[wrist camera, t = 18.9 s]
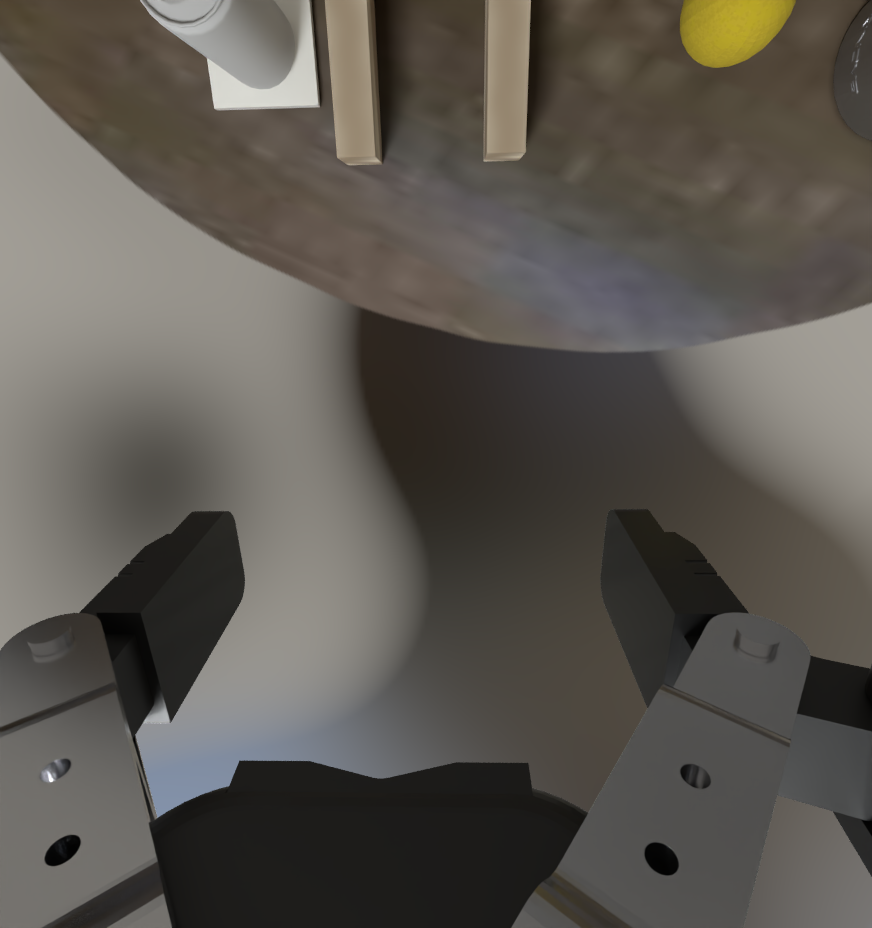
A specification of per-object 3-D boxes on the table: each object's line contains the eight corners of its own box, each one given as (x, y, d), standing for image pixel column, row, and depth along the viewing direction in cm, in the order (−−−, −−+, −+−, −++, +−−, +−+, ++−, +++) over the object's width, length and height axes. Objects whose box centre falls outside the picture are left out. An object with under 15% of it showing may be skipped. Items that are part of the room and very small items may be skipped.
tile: (309, -24, 35) (306, -28, 34) (320, 107, 37) (318, 105, 37) (199, -20, 35) (195, -24, 34) (217, 110, 38) (214, 108, 37)
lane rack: (525, -64, 34) (534, -100, 30) (518, 160, 38) (525, 152, 35) (332, -56, 34) (317, -91, 30) (348, 165, 39) (337, 157, 35)
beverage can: (208, 43, 36) (98, -42, 25) (258, -19, 34) (166, -139, 23) (263, 109, 37) (183, 56, 26) (313, 51, 36) (252, -31, 25)
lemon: (734, -46, 34) (813, -125, 26) (762, 50, 36) (843, 1, 28) (648, 10, 35) (701, -50, 28) (679, 100, 37) (736, 66, 29)
